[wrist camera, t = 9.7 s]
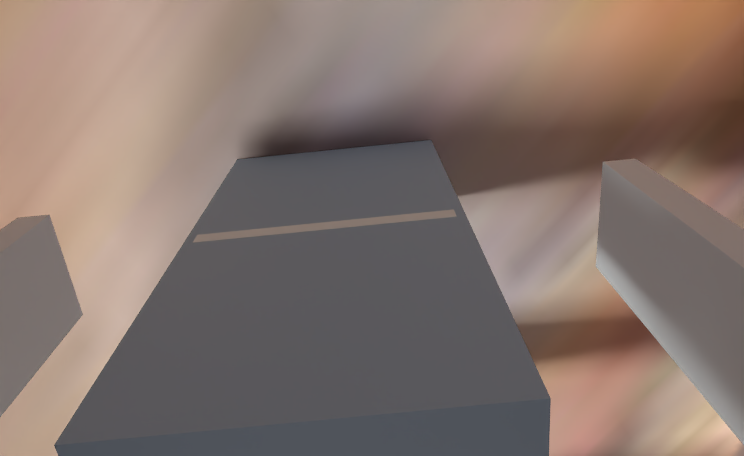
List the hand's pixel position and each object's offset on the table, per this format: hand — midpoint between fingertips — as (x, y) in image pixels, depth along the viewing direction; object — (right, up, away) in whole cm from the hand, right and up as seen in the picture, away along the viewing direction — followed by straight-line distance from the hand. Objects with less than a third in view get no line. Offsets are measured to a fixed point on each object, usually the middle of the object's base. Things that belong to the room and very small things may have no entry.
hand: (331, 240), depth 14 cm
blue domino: (0, +2, +4) cm, 5 cm away
